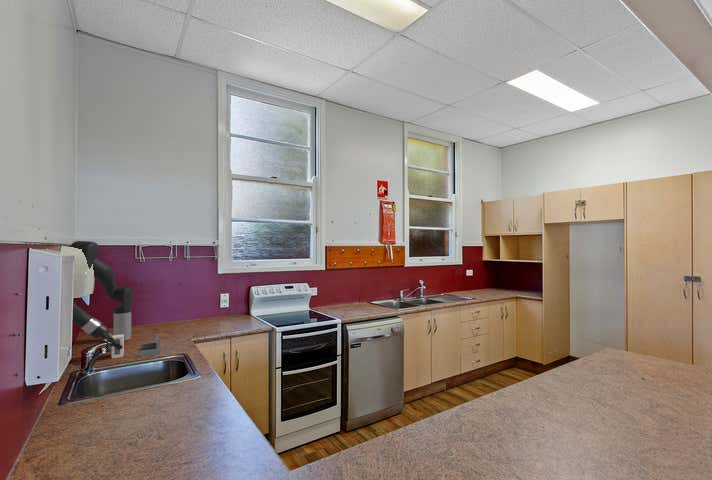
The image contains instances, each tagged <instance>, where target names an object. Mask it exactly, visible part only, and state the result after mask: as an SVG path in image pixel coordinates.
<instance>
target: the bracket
mask: <svg viewBox="0 0 712 480" xmlns="http://www.w3.org/2000/svg"><path fill="white" fill-rule="evenodd" d="M160 338H161V337H160V332H159V333H156V336H155V341H153V342H147V343H141V344H140V354H139V357H140V358H142V357H148V356H154V355H155V356H156V355H160V348H161V347H160V343H161V342H160Z"/></svg>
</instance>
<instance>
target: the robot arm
mask: <svg viewBox="0 0 712 480" xmlns="http://www.w3.org/2000/svg"><path fill="white" fill-rule="evenodd" d="M70 247H74V248H78V249H82V252H83V253H84V255H85V257H86V260H87V264H88V267H89V269H90V268H91V266H92V264H93V270H94V276H93V278H94V279H95V280H96V281H97V282H98V283H99V284H100V285H101V287H102V288H104V290H105V291H106V293H107V295H108V296H109V298H110V299H111V300H112V301H114V302H119V303H121V305H120V306H117V307H115V308H113V332H111V331H110V330H108V329H109V327H108V326H107V325H106V324H104V323H103V322H101V321H100V320H99V319H97V318H94V317H93V316H92V315H91V314H89V313H87V312H86V311H85V310H83V309H82V308H81V307H80V306H78V305H77V302H78V299H79V297H78V298H74V303H73V321H72V323H74V325H76V326H77V327H78V328H79V329H81V330H82V331H83V332H85V333H86V334H88V335H89V336H91V337H92V338H94V339H95V340H97V339H100V337H101V338H102V341H103V342H105V343H107V344H108V345H109V346H111V347H112V346H114V347H115V348H117V349H118V350H121V349H122V348H123V346H121V345H120V344H118V343H117V342H116V341H115V340H114V338H113V337H112V336H114V335H122V334H124V342H125V341H129V340H131V339H132V308H133V300H134V290H133V288H132V287H130V286H118V285H117V284H116V283H115V279H116V273H115V271H114V270H113V268H112V267H110V265H109V264H107V263H106V262H105V261H103V260H101V259H99V258H97V257H98V254H99V250H100V247H99V245H98V243H96V242H95V241H89V240H88V241H87V240H78V241H73V242H72V243H71V245H70ZM70 247H69V248H70ZM107 330H108V331H107ZM108 342H110V343H108ZM111 342H113V343H111Z"/></svg>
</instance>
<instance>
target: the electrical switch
mask: <svg viewBox="0 0 712 480" xmlns="http://www.w3.org/2000/svg"><path fill="white" fill-rule="evenodd" d="M99 340H100V342H101V344H102V343H105V342H103V341H102V338H101V337H99ZM111 343H112V342H111ZM106 348H107V349H108V352H111V353H112V347H111V346H109V345H108V344H107V345H106ZM106 348H105V349H106Z"/></svg>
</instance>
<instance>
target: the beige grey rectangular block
mask: <svg viewBox="0 0 712 480" xmlns="http://www.w3.org/2000/svg"><path fill="white" fill-rule="evenodd" d="M112 337H113V338H114V340H115V341H116V342H117V343H118V344H120V345H121V346H123V348H122V349H121V350H118V349H117V348H115V347H114V346H112V351H111V359H114V358H116V359H117V358H123V357H124V354H125V353H124V352H125V350H124V346H125V345H124V342H125V341H124V334H122V335H114V336H112ZM112 343H113V342H112Z"/></svg>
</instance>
